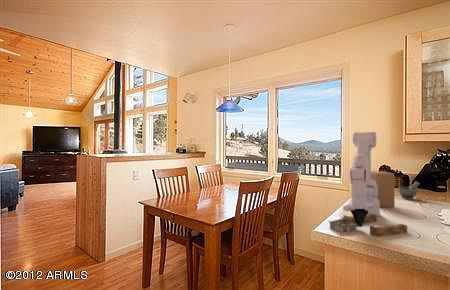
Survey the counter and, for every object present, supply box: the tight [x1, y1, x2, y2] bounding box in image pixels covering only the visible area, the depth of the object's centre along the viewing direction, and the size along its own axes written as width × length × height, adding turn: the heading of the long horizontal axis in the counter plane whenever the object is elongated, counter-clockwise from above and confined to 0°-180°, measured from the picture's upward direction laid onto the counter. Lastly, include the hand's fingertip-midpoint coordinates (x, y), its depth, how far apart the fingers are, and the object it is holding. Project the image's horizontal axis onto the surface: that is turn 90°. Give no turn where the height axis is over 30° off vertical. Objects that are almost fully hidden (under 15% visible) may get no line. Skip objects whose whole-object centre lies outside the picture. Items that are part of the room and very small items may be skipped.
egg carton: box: [328, 217, 358, 233], centre depth 101 cm, size 11×8×4 cm
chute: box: [342, 214, 408, 237], centre depth 102 cm, size 17×17×4 cm
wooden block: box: [371, 170, 395, 208], centre depth 137 cm, size 10×10×20 cm
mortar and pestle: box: [397, 181, 421, 201], centre depth 152 cm, size 11×9×12 cm
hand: (359, 226), depth 100 cm, fingers closed
